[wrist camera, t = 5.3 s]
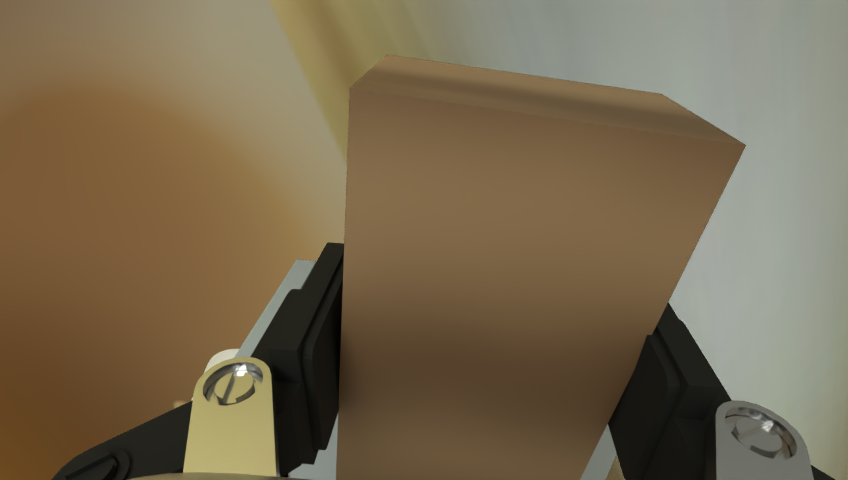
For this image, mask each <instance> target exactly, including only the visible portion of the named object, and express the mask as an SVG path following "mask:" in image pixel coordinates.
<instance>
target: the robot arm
mask: <svg viewBox="0 0 848 480" xmlns="http://www.w3.org/2000/svg"><path fill="white" fill-rule="evenodd" d="M343 266H344V244H342V243H327V244H326V246H325V248H324V249H323V251H322V253H321V255H320V257H319V258H318V260H317V262H316V264H315V266H314V267H313V269H312V271H311V273H310V275H309V276H308V278H307V280H306V282H305V284H304V285H303V287H302V289H291V290H290V291H289V292H288V294H287V295H286V297H285V299H284V300H283V302H282V304H281V305H280V307H279V309H278V311H277V312H276V314H275V316H274V317H273V319H272V321H271V322H270V324H269V326H268V327H267V329H266V331H265V333H264V334H263V336H262V338H261V339H260V341H259V343H258V344H257V346H256V348H255V349H254V351H253V353H252V355H251V356H250V357H237V358H232V359H228V360H225V361H222V362H220V363H218V364H216V365H214V366H213V367H211V368H210V369H209V370H208V371H206V372H205V373H204V374H203V375H202V376H201V378H200V379H199V381H198V382H197V384H196V387H195V390H194V395H193V400H192V401H190V402H188V403H186V404H184V405H182V406H180V407H178V408H175V409H173V410H171V411H169V412H167V413H165V414H163V415H161V416H159V417H156V418H154V419H152V420H150V421H148V422H146V423H144V424H142V425H140V426H137V427H135V428H133V429H131V430H129V431H127V432H125V433H123V434H120V435H118V436H116V437H114V438H112V439H110V440H108V441H106V442H104V443H101V444H99V445H97V446H95V447H93V448H91V449H89V450H87V451H85V452H83V453H82V454H80V455H78V456H77V457H75V458H73V459H72V460H71V461H70V462H69V463H67V464H66V465H65V466H64V467H62V468H61V469H60V471H59V472H58V473H57V474H56V475H55V476H54V477H53V479H52V480H311V479H299V478H291V477H290V472H291V471H293V470H295V469H296V468H298V467H299V466H301V465H302V464H310V465H314V463H315V460H316V457H317V454H318V451H319V450H326V449H327V446H328V444H329V440H330V437H331V434H332V431H333V428H334V424H335V421H336V418H337V415H338V411H339V376H340V349H341V321H342V293H343ZM608 426H609V430H610V433H611V436H612V439H613V443H614V446H615V449H616V453H617V456H618V459H619V462H620V466H621V469H622V472H623V475H624V478H625V479H626V480H835V479H833V478H832V477H830V476H828V475H827V474H825V473H823V472H822V471H820V470H818V469H817V468H815V467H813V466H812V465H811V464H810V459H809V455H808V450H807V447H806V445H805V442H804V440H803V438H802V437H801V436H800V434H799V433H798V432H797V431H796V429H795V428H794V427H793V426H791V425H790V424H789V423H788V422H787V421H786V420H784V419H783V418H782V417H780V416H779V415H777V414H775V413H774V412H772V411H771V410H768V409H766V408H764V407H761V406H759V405H757V404H753V403H749V402H745V401H732V400H731V399H730V397H729V395H728V394H727V392H726V390H725V389H724V387H723V386H722V384H721V382H720V381H719V379H718V378H717V376H716V374H715V373H714V371H713V369H712V368H711V366H710V365H709V363H708V361H707V360H706V358H705V356H704V355H703V353H702V352H701V350H700V348H699V347H698V345H697V344H696V342H695V340H694V339H693V337H692V335H691V334H690V332H689V331H688V329H687V327H686V326H685V324H684V323H683V322H682V321H681V320H679V319H678V317H677V316H676V314H675V312H674V311H673V309H672V307H671V306H670V304H669V302H668V303H667V305H666V307H665V309H664V311H663V313H662V316H661V318H660V320H659V322H658V324H657V326H656V328H655V330H654V332H653V334H652V335H647V336H646V339H645V342H644V345H643V348H642V350H641V353H640V356H639V359H638V362H637V364H636V367H635V370H634V372H633V374H632V376H631V378H630V380H629V382H628V384H627V386H626V388H625V390H624V392H623V394H622V396H621V398H620V400H619V402H618V404H617V406H616V408H615V410H614V412H613V414H612V416H611V418H610V420H609V422H608Z"/></svg>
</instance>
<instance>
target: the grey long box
mask: <svg viewBox="0 0 848 480" xmlns="http://www.w3.org/2000/svg"><path fill="white" fill-rule="evenodd" d="M315 264H316V261H309V260H300V259H297V260H296V261H295V263H294V265H293V266H292V268H291V269H290V271H289V272H288V274H287V276H286V277H285V279H284V280H283V282H282V283H281V285H280V286H279V288H278V290H277V291H276V293H275V294H274V296H273V297H272V299H271V301H270V302H269V304H268V305H267V307H266V308H265V310H264V312H263V313H262V315H261V316H260V318H259V319H258V321H257V322H256V324H255V326H254V327H253V329H252V330H251V332H250V333H249V335H248V337H247V338H246V340H245V341H244V343H243V344H242V346H241V348H240V349H239V351H238V352H237V354H236V355H235V357H234V358H237V357H250V356H251V355H252V353H253V351H254V349H255V348H256V346H257V344H258V343H259V341H260V339H261V338H262V336H263V334H264V333H265V331H266V329H267V327H268V326H269V324H270V322H271V321H272V319H273V317H274V316H275V314H276V312H277V311H278V309H279V307H280V305H281V304H282V302H283V300H284V299H285V297H286V295H287V294H288V292H289V291H290V290H291V289H302V287H303V285H304V284H305V282H306V280H307V278H308V276H309V275H310V273H311V271H312V269H313V267H314V266H315ZM337 432H338V415H337V418H336V421H335V424H334V428H333V431H332V434H331V437H330V440H329V444H328V446H327V449H326V450H319V451H318V454H317V457H316V460H315V463H314V465H310V464H302V465H301V466H299V467H298V468H296V469H295V470H293V471H291V472H290V477H291V478H299V479H311V480H336V459H337ZM616 455H617V453H616V449H615V446H614V443H613V439H612V436H611V433H610V430H609V426H608V424H607V426H606V428H605V430H604V432H603V434H602V436H601V438H600V440H599V442H598V444H597V446H596V448H595V450H594V452H593V454H592V456H591V458H590V460H589V462H588V464H587V466H586V468H585V470H584V473H583V475H582V477H581V479H580V480H606V478H607V475H608V473H609V471H610V468H611V466H612V464H613V462H614V459H615V457H616Z"/></svg>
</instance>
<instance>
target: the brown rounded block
mask: <svg viewBox="0 0 848 480" xmlns="http://www.w3.org/2000/svg"><path fill="white" fill-rule="evenodd" d="M745 146H746V145H745V144H743V143H742V142H740V141H738V140H737V139H735V138H733V137H732V136H730V135H729V134H727V133H725V132H724V131H722V130H720V129H719V128H717V127H715V126H714V125H712V124H710V123H709V122H707V121H705V120H704V119H702V118H700V117H699V116H697V115H695V114H694V113H692V112H691V111H689V110H687V109H686V108H684V107H682V106H681V105H679V104H677V103H676V102H674V101H672V100H671V99H669V98H667V97H666V96H664V95H662V94H659V93H652V92H645V91H638V90H631V89H624V88H617V87H610V86H603V85H596V84H589V83H582V82H575V81H568V80H561V79H554V78H547V77H540V76H533V75H526V74H519V73H512V72H505V71H498V70H491V69H484V68H477V67H470V66H463V65H456V64H449V63H442V62H435V61H428V60H421V59H414V58H407V57H400V56H393V55H386V56H385V57H384V58H383V59H382V60H381V61H379V62H378V63H377V64H376V65H375V66H374V67H373V68H372V69H370V70H369V71H368V72H367V73H366V74H365V75H364V76H363V77H361V78H360V79H359V80H358V81H357V82H356V83H355V84H354V85H353V86H351V87H350V100H349V128H348V155H347V185H346V211H345V239H344V266H343V293H342V321H341V349H340V376H339V411H338V432H337V459H336V480H580V479H581V477H582V475H583V473H584V470H585V468H586V466H587V464H588V462H589V460H590V458H591V456H592V454H593V452H594V450H595V448H596V446H597V444H598V442H599V440H600V438H601V436H602V434H603V432H604V430H605V428H606V426H607V424H608V422H609V420H610V418H611V416H612V414H613V412H614V410H615V408H616V406H617V404H618V402H619V400H620V398H621V396H622V394H623V392H624V390H625V388H626V386H627V384H628V382H629V380H630V378H631V376H632V374H633V372H634V370H635V367H636V364H637V362H638V359H639V356H640V353H641V350H642V348H643V345H644V342H645V339H646V336H647V335H652V334H653V332H654V330H655V328H656V326H657V324H658V322H659V320H660V318H661V316H662V313H663V311H664V309H665V307H666V305H667V303H668V301H669V299H670V297H671V295H672V293H673V291H674V289H675V287H676V285H677V283H678V281H679V279H680V277H681V275H682V273H683V271H684V269H685V267H686V265H687V263H688V261H689V259H690V257H691V255H692V253H693V251H694V249H695V247H696V245H697V243H698V241H699V239H700V237H701V235H702V233H703V231H704V229H705V227H706V225H707V223H708V221H709V219H710V217H711V215H712V213H713V211H714V209H715V207H716V205H717V203H718V201H719V199H720V197H721V195H722V193H723V191H724V189H725V187H726V185H727V183H728V181H729V179H730V177H731V175H732V173H733V171H734V169H735V167H736V165H737V163H738V161H739V158H740V156H741V154H742V152H743V150H744V148H745Z"/></svg>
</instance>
